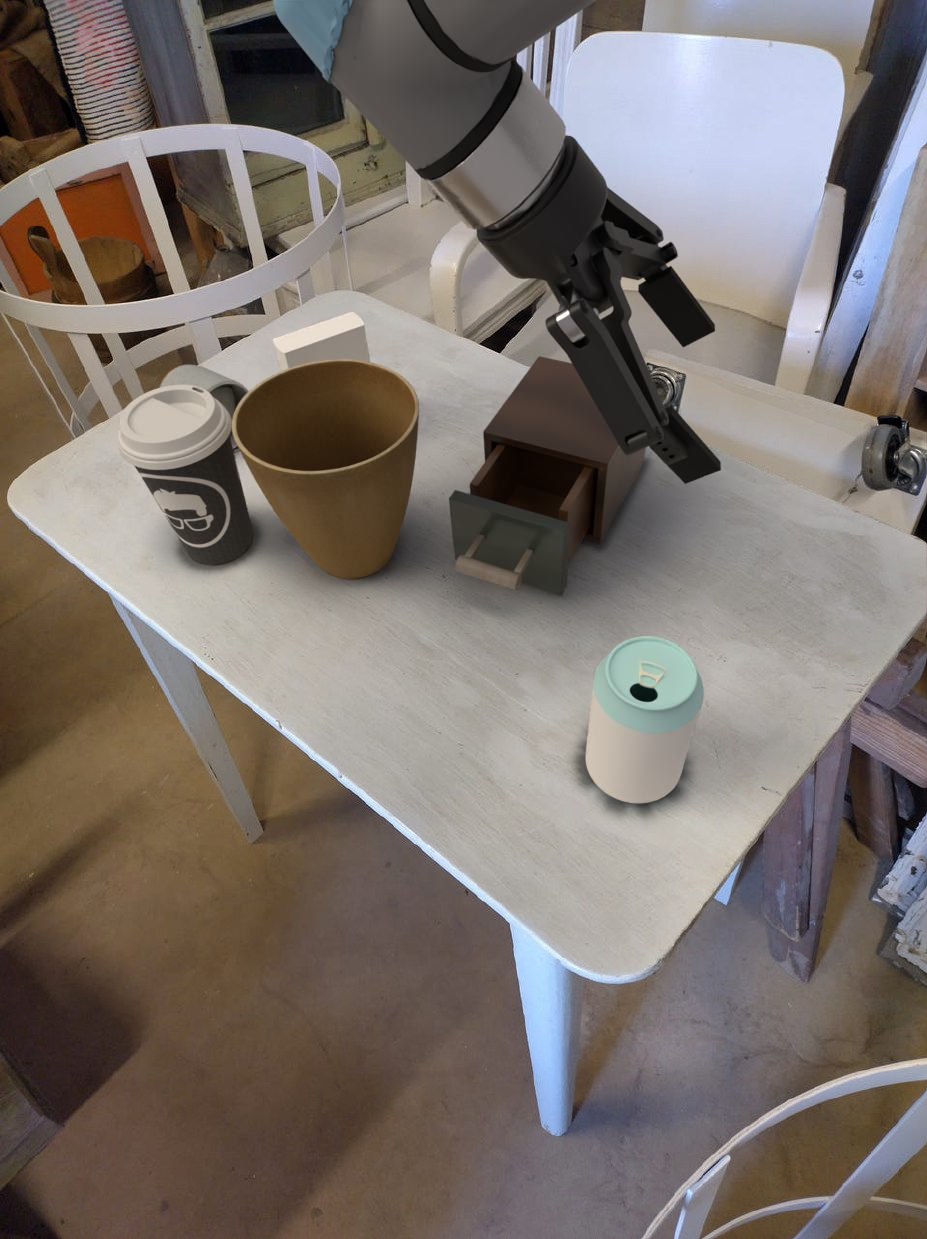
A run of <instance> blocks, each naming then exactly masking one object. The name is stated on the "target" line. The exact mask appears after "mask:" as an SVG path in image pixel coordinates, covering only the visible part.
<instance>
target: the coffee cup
mask: <svg viewBox="0 0 927 1239" xmlns="http://www.w3.org/2000/svg"><path fill="white" fill-rule="evenodd" d="M118 425H119V426H118V427H119V428H118V430H117V446H118V450H119V453H120V455H121V457H122V458H123V460H124V461H126V462H127V463H129V464H131V465H132V466H134V468H135V469H136V471H137V473H138V474H139V476H140V477H141V479H142V480H143V482H144V484H145V486H146V487H147V489H148V490H149V492H150V494H151V495H152V497H153V498H154V500H155V502H156V503H157V505H158V507H159V508H160V510H161V512H162V513H163V515H164V517H165V519H166V520H167V522H168V523H169V525H170V527H171V528H172V530H173V531H174V534H175V535H176V536H177V538H178V540H179V541H180V543H181V545H182V546H183V548H184V550H185V551H186V553H187V554H188V556H189V557H190V558H191V559H192V560H193V561H194V562H196V563H198V564H201V565H208V566H218V565H223V564H228V563H230V562H232V561H234V560H235V559H238V558H240V557H241V556H242V555H243V554H245V553H246V552H247V551H248V549H249V548H250V547H251V546H252V543H253V540H254V530H253V526H252V525H253V524H252V522H251V517H250V513H249V509H248V505H247V501H246V497H245V492H244V489H243V488H244V487H243V485H242V480H241V476H240V472H239V468H238V463H237V459H236V456H235V452H234V449H233V447H232V443H231V438H230V432H231V428H232V419H231V416H230V414H229V413H228V411H227V410H226V409H225V407H224V406H223V405H222V404H221V403H220V402H219V401H218V400H217V399H215V398H213V396H212V395H211V394H210V393H209V392H208V391H206V390H204V389H202V388H200V387H197V386H192V385H171V386H165V387H161V388H159V387H158V388H155V389H152V390H150V391H147V392H145V393H143V394H141V395H139V396H138V397H136V398H135V399H133V400H132V401H131V402H130V403H128V404H127V405H126V407H125V408H124V409H123V410H122V412H121V414H120V416H119V421H118Z"/></svg>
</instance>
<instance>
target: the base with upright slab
mask: <svg viewBox="0 0 927 1239" xmlns="http://www.w3.org/2000/svg"><path fill="white" fill-rule="evenodd" d="M367 339H368V338H367V334H366V327H365V322H364V321H363V319H362V317H361V316H359V315H358V314H356V313H355V312H352V311H349V312H346V313H343V314H341V315H338V316H335V317H332V318H329V319H327V320H324V321H321V322H317V323H315V324H312V325H309V326H306V327H303V328H301V329H298V330H295V331H291V332H289V333H286V334H284V335H280V336H278V337H275V338H273V339H272V342H273V346H274V349H275V354H276V357H277V361H278V365H279V368H280V372H281V371H283V370H286V369H288V368H291V367H294V366H298V365H302V364H306V363H310V362H316V361H323V360H334V359H352V360H361V361H366V362H371V357H370V350H369V346H368V340H367Z"/></svg>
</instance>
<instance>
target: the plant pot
mask: <svg viewBox="0 0 927 1239" xmlns="http://www.w3.org/2000/svg"><path fill="white" fill-rule="evenodd" d="M248 391H249V392H248V393H247V394H246V395H245V396H244V397H243V398H242V400H241V401H240V402H239V404H238V406H237V408H236V410H235V412H234V415H233V419H232V432H233V436H234V439H235V441H236V443H237V448H238V450H239V452H240V454H241V455H242V457H243V460H244V462H245V464H246V465H247V467H248V469H249V471H250V473H251V476H252V477H253V479H254V480H255V482H256V484H257V486H258V488H259V489H260V491H261V492H262V494H263V496H264V497H265V499H266V501H267V503H269V505H270V506H271V508H272V510H273V511H274V513H275V514H276V516H277V517H278V518H279V520H280V521H281V523H282V524H283V526H284V527H285V528H286V529H287V531H288V533H290V535H291V537H292V538H293V539H294V540H295V541H296V542H297V544H299V547H301V549H302V550H304V552H305V553H306V554H307V555H308V556H309V557H310V558H311V559H312V560H313V562H314V563H316V565H317V566H318V567H319V568H320V569H321V570H323V572H325V573H327V574H328V575H331V576H333V577H335V578H339V579H346V580H353V579H355V580H356V579H361V578H366V577H368V576H371V575H373V574H375V573H377V572H379V571H380V570H381V569H383V568H384V567H385V566H386V565H387V564H388V562H389V561H390V560H391V559H392V556H393V554H394V551H395V549H396V546H397V542H398V540H399V537H400V534H401V530H402V528H403V525H404V524H403V523H404V521H405V517H406V513H407V510H408V505H409V501H410V496H411V490H412V486H413V485H412V484H413V480H414V479H413V478H414V473H415V466H416V456H417V444H418V434H419V433H418V432H419V416H420V403H419V402H420V401H419V398H418V394H417V392H416V390H415V388H414V387H413V386H412V384H411V383H410V381H409V380H407V379H406V378H405V377H404V376H403V375H401V374H399V373H398V372H397V371H395V370H393V369H391V368H390V367H387V366H385V365H382V364H379V363H374V362H371V361H370V362H366V361H361V360H352V359H334V360H323V361H316V362H310V363H306V364H302V365H298V366H294V367H291V368H288V369H286V370H283V371H281V370H280V371H278V372H276V373H275V374H273V375H270V376H269V377H267V378H265V379H263V380H262V381H260V382H259V383H258V384H256V385H255V386H253V387H252V388H251V389H250V390H248Z"/></svg>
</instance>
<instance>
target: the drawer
mask: <svg viewBox="0 0 927 1239" xmlns="http://www.w3.org/2000/svg"><path fill="white" fill-rule="evenodd" d="M597 479H598V468H595V467H591V466H587V465H583V464H579V463H575V462H572V461H568V460H564V459H560V458H556V457H552V456H549V455H545V454H541V453H537V452H533V451H529V450H526V449H522V448H518V447H514V446H510V445H506V444H502V443H498V445H497V446H496V447H495V449H494V450H493V452H492V453H491V454H490V456H489V457H488V459H487V460H486V461H485V460H484V463H483V464H482V465H481V467H480V468H479V470H478V471H477V472H476V474H475V475H474V477H473V478H472V480H471V481H470V483H469V493H467V492H464V491H460V490H458V489H455V490H453V492H451V495H450V496H449V497H448V503H449V514H450V525H451V533H452V543H453V544H452V546H453V554H454V561H455V565H454V570H455V572H459V573H461V574H465V575H468V576H471V577H473V578H477V579H480V580H483V581H485V582H489V583H492V584H495V585H497V586H498V585H499V586H501V587H505V588H508V589H511V590H514V591H517V590H518V589H519V588H520V586H521V584H523V585H526V586H529V587H532V588H534V589H538V590H541V591H544V592H547V593H550V594H554V595H556V596H560V597H562V596H563V595H564V593H565V591H566V589H567V587H568V586H567V585H568V567H569V566H570V564H571V562H572V560H573V559H574V556H575V555H576V553H577V551H578V549H579V547H580V545H581V544H582V542H583V541H584V539H583V538H584V537H585V535H586V533H587V531H588V529H589V528H590V526H591V524H592V522H593V520H594V515H595V503H596V491H597Z"/></svg>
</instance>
